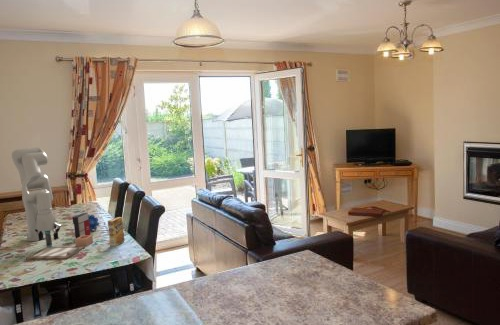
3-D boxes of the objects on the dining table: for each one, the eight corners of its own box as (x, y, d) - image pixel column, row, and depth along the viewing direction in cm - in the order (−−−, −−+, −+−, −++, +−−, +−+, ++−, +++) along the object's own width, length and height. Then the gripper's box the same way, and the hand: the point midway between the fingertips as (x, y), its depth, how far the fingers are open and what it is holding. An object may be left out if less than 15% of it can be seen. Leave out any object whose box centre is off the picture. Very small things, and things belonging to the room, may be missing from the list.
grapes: (84, 234, 255) (82, 216, 254) (81, 232, 260) (79, 215, 259) (101, 230, 263) (100, 213, 261) (98, 228, 268) (96, 211, 266)
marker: (45, 247, 231) (43, 231, 229) (48, 245, 234) (46, 230, 232) (50, 247, 230) (48, 231, 229) (53, 245, 233) (51, 229, 232)
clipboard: (26, 260, 210) (25, 256, 210) (46, 248, 228) (46, 245, 228) (66, 259, 207) (66, 255, 207) (84, 248, 225) (84, 244, 225)
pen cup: (76, 246, 229) (75, 239, 229) (82, 242, 236) (81, 235, 236) (87, 246, 229) (86, 238, 228) (93, 242, 235) (92, 235, 235)
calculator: (80, 240, 241) (78, 217, 240) (74, 240, 242) (72, 217, 241) (91, 235, 252) (88, 212, 250) (85, 234, 253) (83, 212, 251)
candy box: (115, 246, 225) (113, 221, 224) (109, 245, 227) (107, 220, 225) (124, 241, 234) (122, 217, 232) (119, 241, 235) (116, 216, 233)
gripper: (27, 213, 227) (31, 241, 228) (54, 212, 225) (58, 240, 226) (36, 210, 234) (39, 237, 236) (62, 209, 232) (65, 237, 234)
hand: (48, 239), depth 231 cm, fingers open, 9 cm apart
